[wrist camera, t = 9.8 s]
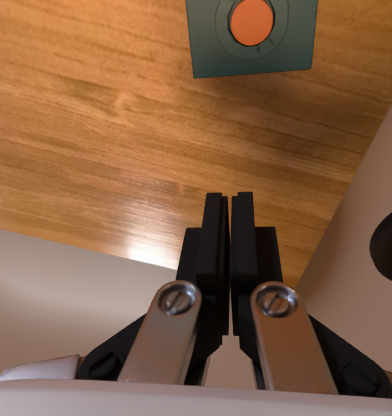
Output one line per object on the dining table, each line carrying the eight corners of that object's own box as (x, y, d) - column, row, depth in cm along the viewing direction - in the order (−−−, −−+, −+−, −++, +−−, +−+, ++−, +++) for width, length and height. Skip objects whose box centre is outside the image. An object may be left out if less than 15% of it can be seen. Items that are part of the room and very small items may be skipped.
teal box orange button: (316, -56, 29) (328, -61, 25) (306, 62, 35) (314, 73, 31) (186, -39, 31) (178, -40, 27) (196, 71, 37) (191, 83, 33)
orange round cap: (272, -6, 28) (273, -5, 27) (270, 40, 30) (272, 43, 29) (230, -1, 29) (229, 0, 27) (231, 44, 31) (231, 47, 29)
